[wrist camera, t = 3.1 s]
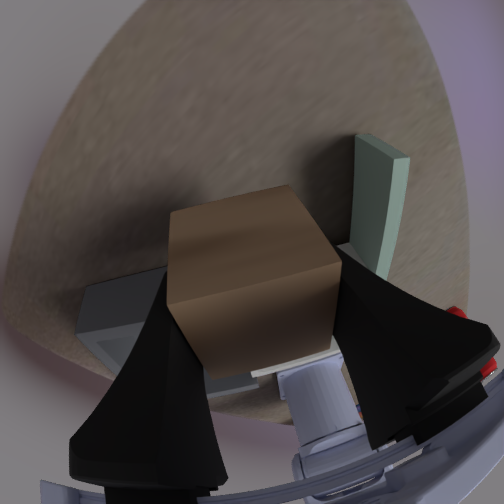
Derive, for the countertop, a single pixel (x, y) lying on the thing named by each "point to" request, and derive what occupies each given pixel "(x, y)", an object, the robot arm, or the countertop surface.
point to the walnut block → (251, 281)
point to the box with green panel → (369, 217)
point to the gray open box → (133, 325)
